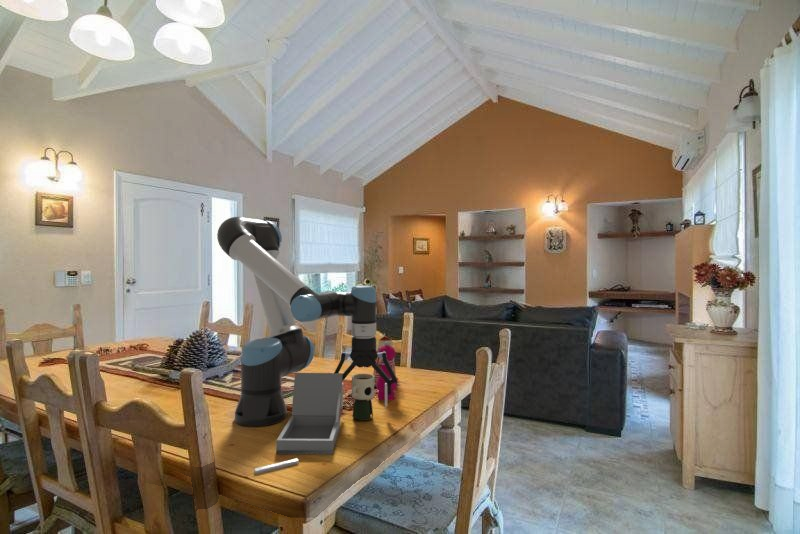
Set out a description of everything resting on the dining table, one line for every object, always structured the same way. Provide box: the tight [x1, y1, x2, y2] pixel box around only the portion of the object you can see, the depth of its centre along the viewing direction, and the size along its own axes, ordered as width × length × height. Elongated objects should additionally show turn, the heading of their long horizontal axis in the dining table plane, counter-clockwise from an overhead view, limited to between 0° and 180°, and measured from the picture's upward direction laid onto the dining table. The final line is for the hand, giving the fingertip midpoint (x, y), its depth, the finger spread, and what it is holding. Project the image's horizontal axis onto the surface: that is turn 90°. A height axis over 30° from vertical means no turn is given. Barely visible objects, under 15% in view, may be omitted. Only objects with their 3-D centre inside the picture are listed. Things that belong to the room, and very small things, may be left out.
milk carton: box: [372, 332, 396, 383], centre depth 173 cm, size 9×9×20 cm
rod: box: [254, 457, 300, 475], centre depth 102 cm, size 10×1×1 cm, turn 123°
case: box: [275, 372, 344, 455], centre depth 120 cm, size 14×22×15 cm, turn 1°
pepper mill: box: [375, 341, 397, 401], centre depth 154 cm, size 7×7×20 cm
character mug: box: [351, 373, 376, 421], centre depth 134 cm, size 11×7×13 cm, turn 152°
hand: (363, 405), depth 134 cm, fingers open, 13 cm apart
